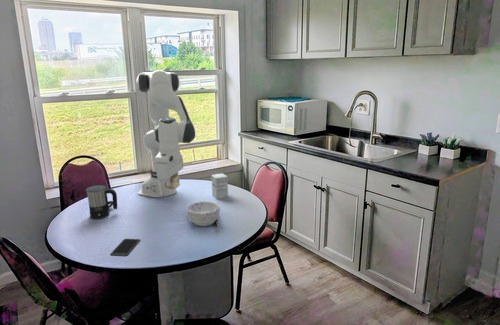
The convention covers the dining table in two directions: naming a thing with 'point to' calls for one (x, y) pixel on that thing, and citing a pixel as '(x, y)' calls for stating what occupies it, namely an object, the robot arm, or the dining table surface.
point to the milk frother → (100, 201)
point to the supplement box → (219, 186)
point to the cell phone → (125, 247)
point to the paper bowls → (203, 213)
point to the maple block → (173, 182)
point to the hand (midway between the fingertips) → (172, 183)
